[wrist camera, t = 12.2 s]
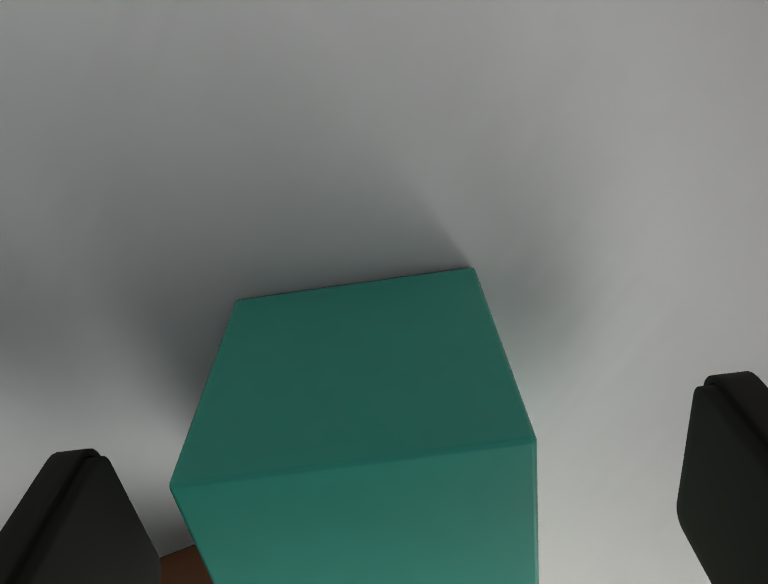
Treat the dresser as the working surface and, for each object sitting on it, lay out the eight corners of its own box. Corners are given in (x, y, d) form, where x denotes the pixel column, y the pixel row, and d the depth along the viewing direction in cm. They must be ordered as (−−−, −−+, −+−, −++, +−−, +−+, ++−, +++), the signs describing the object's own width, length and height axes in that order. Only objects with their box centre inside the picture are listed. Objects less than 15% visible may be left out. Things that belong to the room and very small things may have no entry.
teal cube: (287, 469, 13) (256, 683, 9) (234, 298, 11) (165, 485, 7) (487, 444, 13) (541, 652, 9) (474, 265, 11) (538, 438, 7)
